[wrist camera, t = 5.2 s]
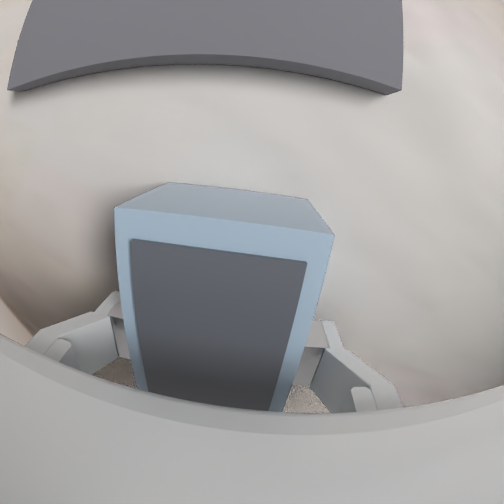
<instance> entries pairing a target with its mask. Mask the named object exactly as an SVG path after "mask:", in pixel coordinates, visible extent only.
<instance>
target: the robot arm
mask: <svg viewBox="0 0 504 504" xmlns="http://www.w3.org/2000/svg"><path fill="white" fill-rule="evenodd" d="M118 357H122V358H126V359H130V355H129V350H128V344H127V339H126V333H125V327H124V321H123V314H122V307H121V299H120V291H113V292H112V293H111V294H110V295H109V296H108V297H107V298H106V299H105V300H104V302H103V303H102V304H101V305H100V306H99V307H98V308H97V309H96V311H95V312H91V311H90V312H88V313H85V314H82V315H79V316H77V317H74V318H71V319H68V320H65V321H63V322H60V323H57V324H54V325H51V326H49V327H46V328H43V329H40V330H39V331H38V332H37V334H36V335H35V336H34V337H33V338H32V339H31V340H30V341H29V342H28V343H27V344H26V345H25V346H23V345H20V344H19V343H17V342H15V341H13V340H11V339H9V338H7V337H5V336H3V335H2V334H0V504H504V385H501V386H498V387H495V388H492V389H489V390H485V391H482V392H478V393H475V394H471V395H467V396H463V397H459V398H454V399H450V400H445V401H440V402H435V403H429V404H424V405H417V406H411V407H403V404H402V402H401V400H400V397H399V395H398V392H397V390H396V388H395V385H394V384H393V383H391V382H390V381H389V380H387V379H386V378H385V377H383V376H382V375H381V374H380V373H378V372H377V371H376V370H374V369H373V368H372V367H370V366H369V365H368V364H366V363H365V362H364V361H362V360H361V359H360V358H359V357H357V356H356V355H355V354H353V353H352V352H351V351H349V350H348V349H344V347H343V344H342V341H341V339H340V336H339V333H338V330H337V327H336V325H335V322H334V321H322V320H320V321H318V320H313V321H312V324H311V327H310V331H309V334H308V337H307V341H306V344H305V347H304V350H303V353H302V356H301V359H300V363H299V366H298V369H297V372H296V374H295V377H294V380H293V383H292V385H301V386H310V388H311V389H312V390H313V391H314V393H315V394H316V395H317V396H318V398H319V399H320V400H321V401H322V402H323V404H324V405H325V406H326V407H327V409H328V410H329V411H330V412H331V413H292V412H273V411H261V410H250V409H241V408H232V407H225V406H218V405H211V404H205V403H199V402H193V401H188V400H183V399H178V398H173V397H168V396H164V395H160V394H155V393H151V392H147V391H143V390H140V389H136V388H132V387H129V386H125V385H122V384H119V383H115V382H112V381H109V380H106V379H103V378H100V377H97V376H94V375H92V374H94V373H95V372H97V371H98V370H100V369H102V368H103V367H105V366H106V365H108V364H109V363H111V362H112V361H114V360H116V359H117V358H118Z"/></svg>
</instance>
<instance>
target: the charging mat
mask: <svg viewBox="0 0 504 504" xmlns="http://www.w3.org/2000/svg"><path fill="white" fill-rule="evenodd" d="M171 64H220V65H238V66H250V67H260V68H269V69H277V70H284V71H290V72H297V73H302V74H308V75H313V76H318V77H323V78H327V79H332V80H336V81H340V82H344V83H348V84H352V85H356V86H359V87H363V88H366V89H370V90H373V91H376V92H379V93H382V94H385V95H389V94H392V93H395V92H398V91H401V90H402V73H403V13H402V0H33V1H32V3H31V6H30V8H29V11H28V13H27V16H26V19H25V22H24V25H23V28H22V31H21V34H20V37H19V40H18V44H17V48H16V51H15V55H14V59H13V63H12V68H11V73H10V77H9V83H8V88H7V90H13V91H25V90H28V89H31V88H35V87H38V86H41V85H45V84H48V83H52V82H56V81H59V80H63V79H68V78H72V77H76V76H81V75H86V74H91V73H97V72H102V71H109V70H115V69H123V68H131V67H141V66H153V65H171Z"/></svg>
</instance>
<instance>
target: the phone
mask: <svg viewBox="0 0 504 504" xmlns="http://www.w3.org/2000/svg"><path fill="white" fill-rule="evenodd" d="M114 221H115V245H116V260H117V272H118V282H119V291H120V299H121V307H122V314H123V321H124V327H125V333H126V339H127V344H128V350H129V355H130V360H131V365H132V369H133V374H134V378H135V382H136V386H137V389H140V390H143V391H147V392H151V393H155V394H160V395H164V396H168V397H173V398H178V399H183V400H188V401H193V402H199V403H205V404H211V405H218V406H225V407H232V408H241V409H250V410H261V411H273V412H282V411H283V408H284V406H285V403H286V400H287V397H288V395H289V392H290V389H291V386H292V383H293V380H294V377H295V374H296V372H297V369H298V366H299V363H300V359H301V356H302V353H303V350H304V347H305V344H306V341H307V337H308V334H309V331H310V327H311V324H312V321H313V317H314V314H315V310H316V307H317V303H318V299H319V296H320V292H321V288H322V285H323V281H324V277H325V273H326V269H327V265H328V261H329V257H330V253H331V248H332V244H333V240H334V233H333V232H332V231H331V229H330V228H329V227H328V225H327V224H326V223H325V221H324V220H323V219H322V217H321V216H320V215H319V213H318V212H317V211H316V209H315V208H314V207H313V206H312V204H311V203H310V202H309V200H308V199H303V198H296V197H290V196H283V195H276V194H269V193H262V192H254V191H247V190H238V189H230V188H221V187H212V186H202V185H192V184H181V183H169V182H168V183H166V184H164V185H161V186H159V187H157V188H155V189H152V190H150V191H148V192H146V193H143V194H141V195H139V196H137V197H135V198H133V199H131V200H129V201H126V202H124V203H122V204H120V205H118V206H116V207H114Z"/></svg>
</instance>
